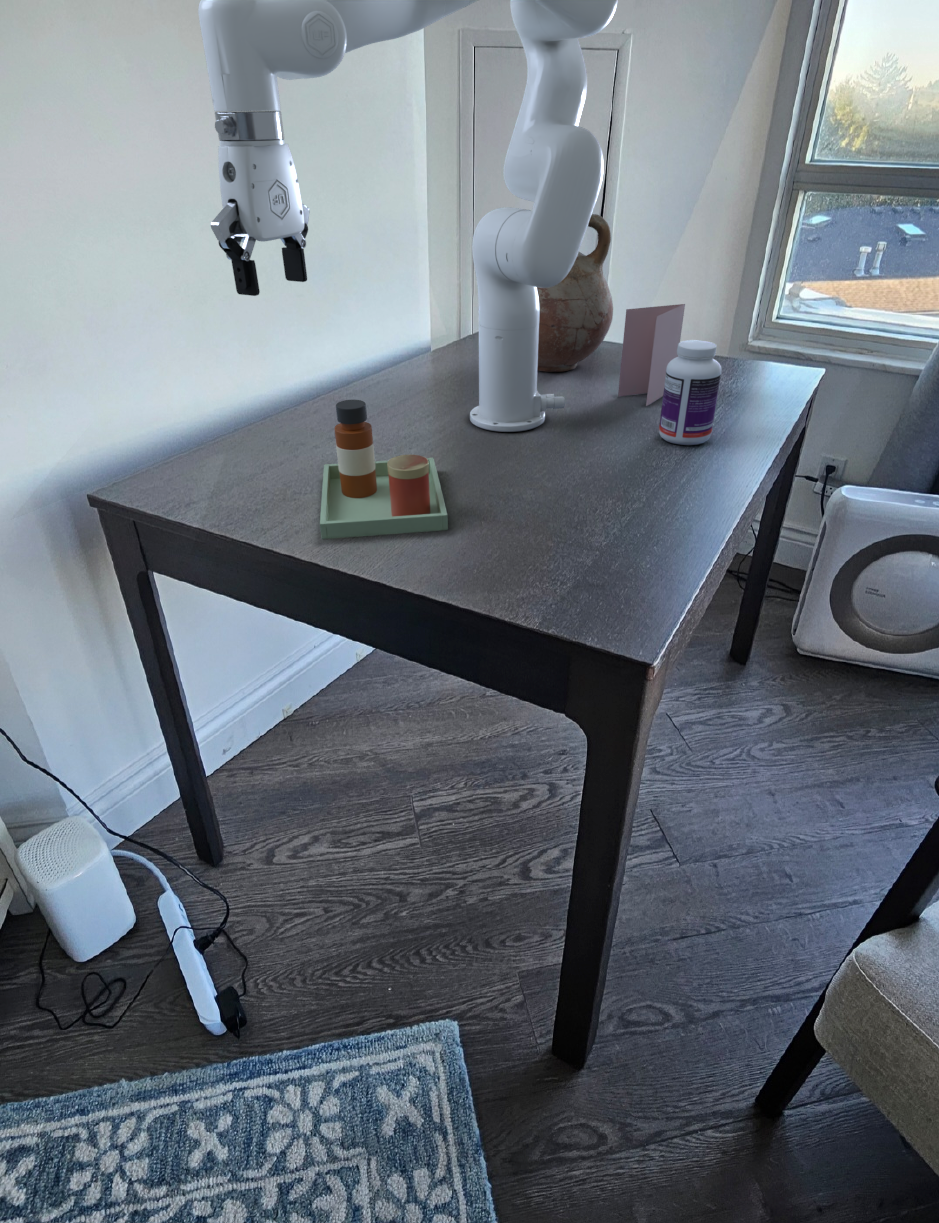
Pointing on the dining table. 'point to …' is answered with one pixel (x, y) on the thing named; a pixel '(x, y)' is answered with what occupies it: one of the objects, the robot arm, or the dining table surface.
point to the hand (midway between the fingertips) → (273, 287)
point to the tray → (375, 508)
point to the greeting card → (649, 349)
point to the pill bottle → (690, 394)
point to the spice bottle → (355, 450)
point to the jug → (576, 309)
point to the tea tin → (409, 485)
